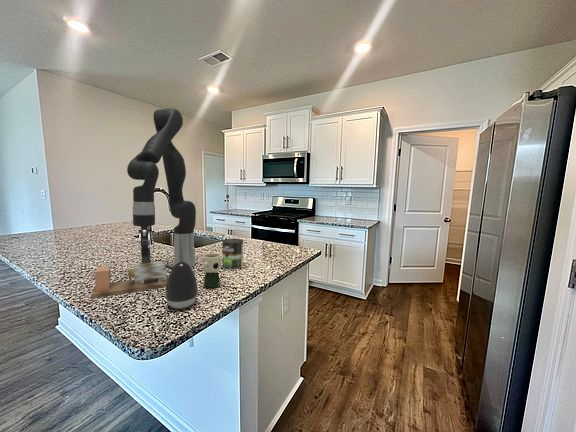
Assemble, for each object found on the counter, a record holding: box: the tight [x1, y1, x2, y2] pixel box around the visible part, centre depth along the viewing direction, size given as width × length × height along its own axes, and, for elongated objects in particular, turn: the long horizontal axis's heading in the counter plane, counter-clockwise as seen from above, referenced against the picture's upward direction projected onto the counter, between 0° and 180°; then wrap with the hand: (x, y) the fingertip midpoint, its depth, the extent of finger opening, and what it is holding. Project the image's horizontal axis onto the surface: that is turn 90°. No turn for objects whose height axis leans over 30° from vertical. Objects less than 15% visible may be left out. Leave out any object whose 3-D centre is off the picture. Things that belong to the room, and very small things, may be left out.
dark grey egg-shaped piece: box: [164, 262, 199, 310], centre depth 83 cm, size 10×10×15 cm
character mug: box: [202, 252, 222, 289], centre depth 100 cm, size 11×7×13 cm, turn 165°
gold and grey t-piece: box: [127, 246, 151, 278], centre depth 98 cm, size 13×3×11 cm, turn 121°
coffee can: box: [221, 238, 244, 271], centre depth 124 cm, size 10×10×14 cm
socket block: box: [94, 265, 112, 292], centre depth 92 cm, size 4×6×8 cm, turn 31°
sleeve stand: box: [90, 260, 169, 300], centre depth 96 cm, size 25×10×8 cm, turn 121°
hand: (144, 253), depth 98 cm, fingers open, 8 cm apart
